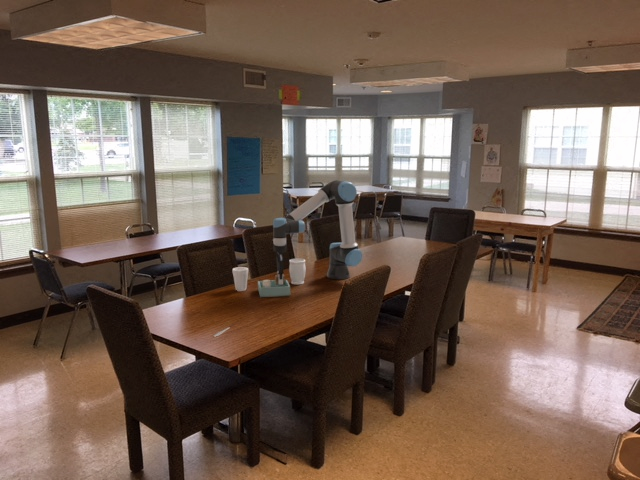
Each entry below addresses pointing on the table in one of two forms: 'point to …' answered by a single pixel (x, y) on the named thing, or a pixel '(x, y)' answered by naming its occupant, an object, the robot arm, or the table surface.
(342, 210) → the robot arm
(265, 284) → the ceramic canister
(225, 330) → the butter knife
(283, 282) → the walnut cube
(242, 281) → the foam cup
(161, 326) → the table surface
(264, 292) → the tote
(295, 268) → the jar
